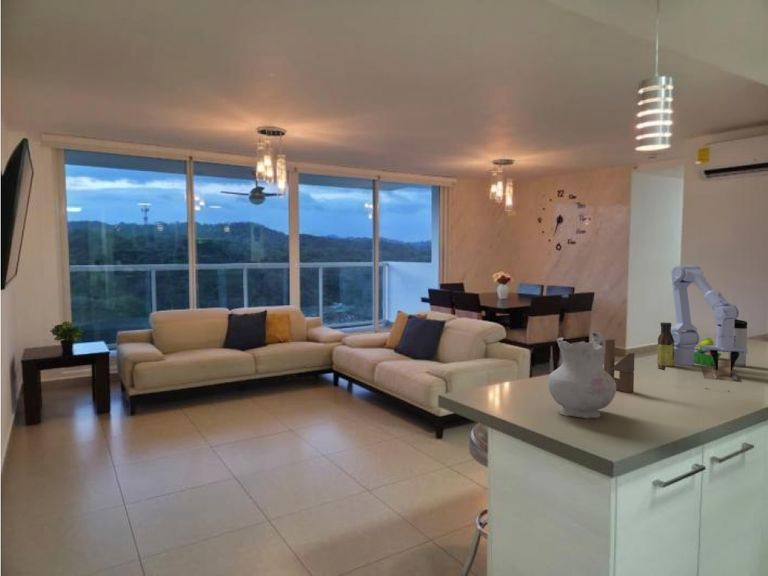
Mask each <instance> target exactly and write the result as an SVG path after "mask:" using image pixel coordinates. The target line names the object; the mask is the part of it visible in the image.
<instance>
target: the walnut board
mask: <svg viewBox="0 0 768 576" xmlns="http://www.w3.org/2000/svg"><path fill="white" fill-rule="evenodd" d="M700 369H701V372H702V375H703V379H704V380H705V379H706V380H716V381H718V380H719V381H726V382H727V381H729V382H739V383H743V380H742V378H741V376H740V375H739V373H738V371H737V369H732V371H731V372H730V376H722V375H718V374H717V373H716V371H717V370H716V369H715V367H710V366H709V367H707V366H701V368H700Z"/></svg>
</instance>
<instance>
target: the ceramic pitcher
mask: <svg viewBox="0 0 768 576" xmlns="http://www.w3.org/2000/svg"><path fill="white" fill-rule="evenodd" d="M604 339H605V338H604V336H603V335H602V333H601V332H600V331H598V330H596V331H593V333H592V340H591V341H590V342H585V341H579V342H577V343H570V342H567V341H566V340H564V337H558V338H556V342H557V344H558V348H559V349H560V353H561V357H562V363H561V365H560V366H559V367H557V368H556V369H555V370H553V371H552V372H551V373H550V374H549V376H548V381H547V382H548V383H547V384H548V390H549V393H550V395H551V397H552V398H553V400H554V401H555V403H557V404H558V405H560V406H562V408H561V409H560V410H561V411H560V410H559V412H561V413H563V414H564V415H565V417H577V418H582V419H587V420H588V419H597V418H601V417H602V415H601V412H600V411H599V410H602V409H605V408H606V407H607V406H609V405H610V404H611V403H612V401H613V400H614V398H615V396H616V393H617V392H616V391H617V390H616V383H615V381H614V379H613V378H612V377H611V375H609V374H608V373H607V372H606V371H605V370H604V355H605V341H604ZM564 415H563V416H564Z"/></svg>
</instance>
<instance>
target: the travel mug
mask: <svg viewBox="0 0 768 576" xmlns="http://www.w3.org/2000/svg"><path fill="white" fill-rule="evenodd" d="M747 340H748V322H747V321H746V320H741V319H738V318H736V319H735V320H734V345H733V347H739V348H747V342H748V341H747ZM730 353H731V352H728V356H727V357H728V359H730ZM735 366H738V368H745V367H746V366H747V354H744V353H739V357H738V358H737V360H736V362H735V364H734V366H733V367H735ZM744 366H745V367H744Z"/></svg>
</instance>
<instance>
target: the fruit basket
mask: <svg viewBox="0 0 768 576" xmlns="http://www.w3.org/2000/svg"><path fill="white" fill-rule="evenodd" d="M714 343H715V342H714V340H713V339H712V337H711V338H710V337H705V338H704V340H703V341H701V342H700V343H698V344H699V348H694V362H695V363H694V364H698V363H700V364H701V365H704V364H705V365H704V366H709V365H711V366H715V363H714V360H713V357H712V355H711V353H710V351H703V350H702V345H713V346H714ZM721 355H722V353H721V352H718V358H721ZM700 364H699V365H700Z"/></svg>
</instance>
